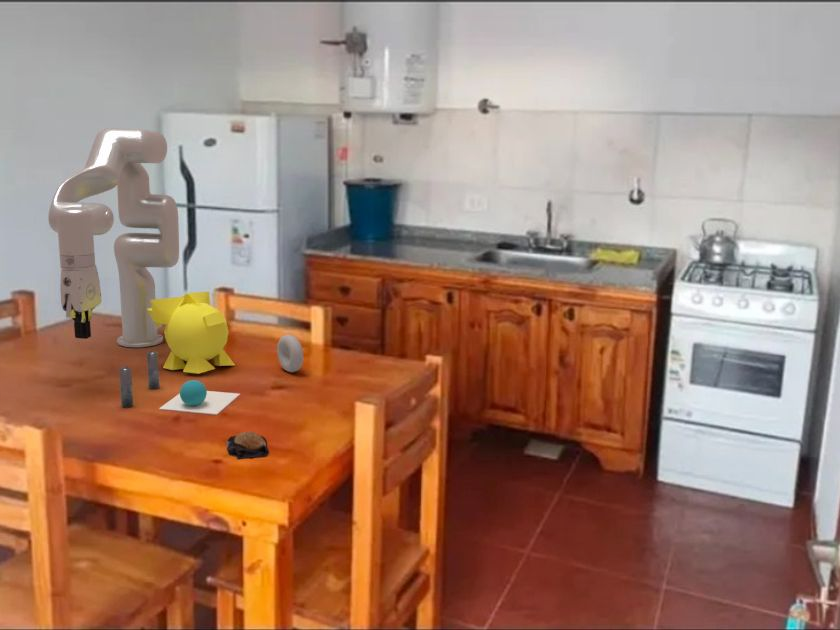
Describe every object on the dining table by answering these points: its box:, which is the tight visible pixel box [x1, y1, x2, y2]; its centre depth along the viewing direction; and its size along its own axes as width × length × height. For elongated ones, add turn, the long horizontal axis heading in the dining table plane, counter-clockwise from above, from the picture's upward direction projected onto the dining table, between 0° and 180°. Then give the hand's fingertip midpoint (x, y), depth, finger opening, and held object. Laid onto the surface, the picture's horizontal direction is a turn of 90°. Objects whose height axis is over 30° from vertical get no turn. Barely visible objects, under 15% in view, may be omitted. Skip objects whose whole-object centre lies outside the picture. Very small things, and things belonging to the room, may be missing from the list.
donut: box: [276, 334, 304, 373], centre depth 225 cm, size 10×4×10 cm, turn 40°
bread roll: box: [225, 431, 270, 460], centre depth 176 cm, size 11×8×4 cm
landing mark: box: [158, 390, 241, 416], centre depth 202 cm, size 14×14×1 cm
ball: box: [179, 379, 208, 406], centre depth 199 cm, size 6×6×6 cm
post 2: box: [146, 350, 161, 390], centre depth 210 cm, size 3×3×9 cm
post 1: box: [118, 366, 134, 409], centre depth 197 cm, size 3×3×9 cm
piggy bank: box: [147, 291, 236, 375], centre depth 226 cm, size 20×20×19 cm
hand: (83, 337), depth 203 cm, fingers closed
